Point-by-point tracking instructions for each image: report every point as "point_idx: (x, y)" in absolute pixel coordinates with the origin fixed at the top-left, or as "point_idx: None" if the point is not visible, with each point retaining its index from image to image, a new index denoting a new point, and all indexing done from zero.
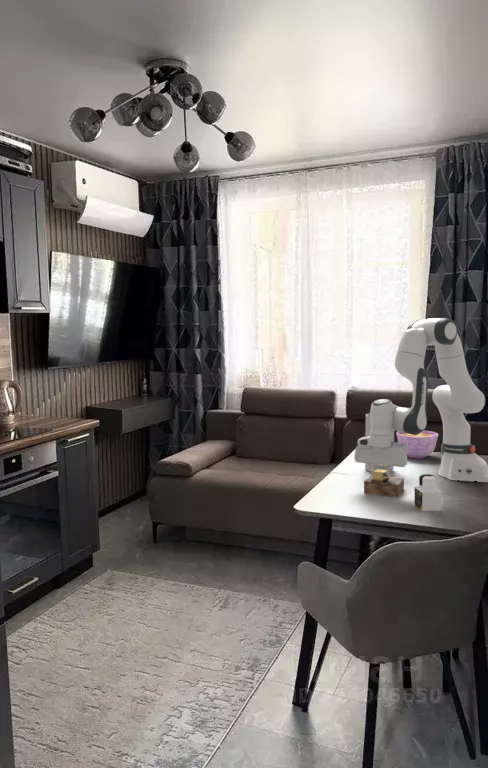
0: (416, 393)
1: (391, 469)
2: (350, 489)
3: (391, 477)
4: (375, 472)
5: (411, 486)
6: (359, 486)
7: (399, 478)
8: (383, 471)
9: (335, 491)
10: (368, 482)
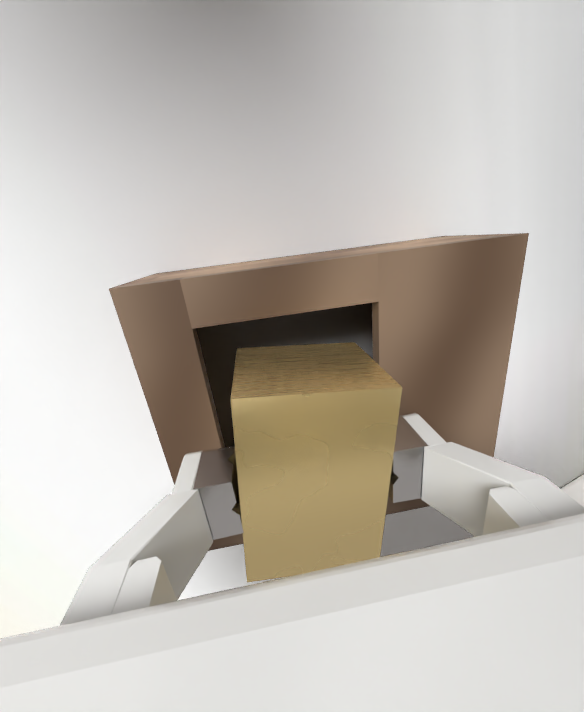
0: None
1: (496, 462)
2: (80, 457)
3: (385, 273)
4: (286, 575)
5: (497, 58)
6: (79, 347)
7: (480, 266)
8: (363, 483)
9: (32, 546)
10: (238, 539)
